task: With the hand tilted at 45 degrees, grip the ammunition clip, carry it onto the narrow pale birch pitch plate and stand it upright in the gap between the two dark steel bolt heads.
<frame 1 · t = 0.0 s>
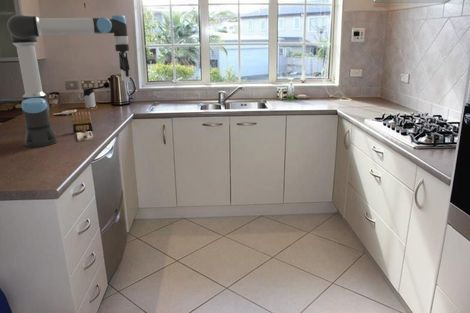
hand: (126, 81, 227), 28 cm above the worktop, tool pointing down, fingers open, 13 cm apart
pitch plate: (85, 136, 216), on the worktop
ammunition clip: (83, 132, 229), on the worktop
glass holder: (88, 107, 316), on the worktop
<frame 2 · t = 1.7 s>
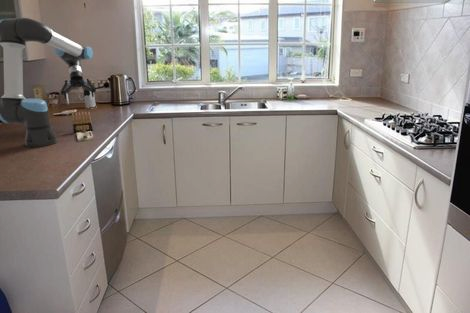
hand: (80, 101, 234), 16 cm above the worktop, tool tilted 45°, fingers open, 13 cm apart
nothing on the worktop moved.
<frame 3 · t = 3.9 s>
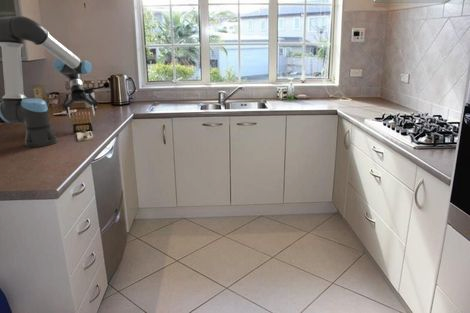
hand: (82, 116, 229), 9 cm above the worktop, tool tilted 45°, fingers open, 13 cm apart
nothing on the worktop moved.
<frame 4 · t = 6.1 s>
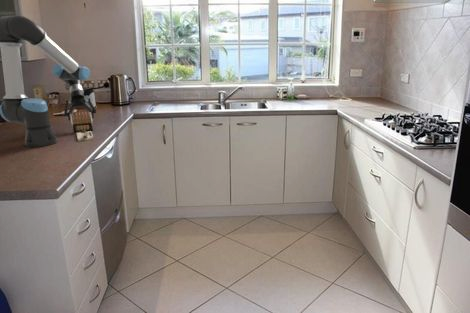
hand: (82, 123, 225), 5 cm above the worktop, tool tilted 45°, fingers closed on ammunition clip, 10 cm apart
ammunition clip: (83, 131, 229), on the worktop, touching gripper
everything else where it was.
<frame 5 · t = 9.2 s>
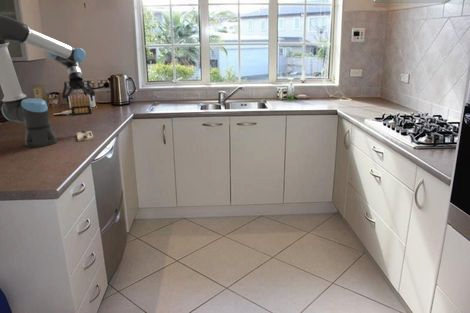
hand: (80, 106, 219), 16 cm above the worktop, tool tilted 45°, fingers closed on ammunition clip, 10 cm apart
ammunition clip: (82, 115, 223), point 11 cm above the worktop, touching gripper
everything else where it was.
when the fingers open (8 cm above the worktop, at t = 12.6 s): ammunition clip stays where it is, resting on pitch plate.
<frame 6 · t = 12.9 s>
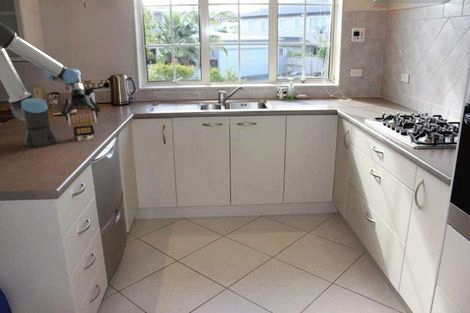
hand: (83, 123, 211), 8 cm above the worktop, tool tilted 45°, fingers open, 13 cm apart
ammunition clip: (84, 135, 215), point 1 cm above the worktop, touching pitch plate
everything else where it was.
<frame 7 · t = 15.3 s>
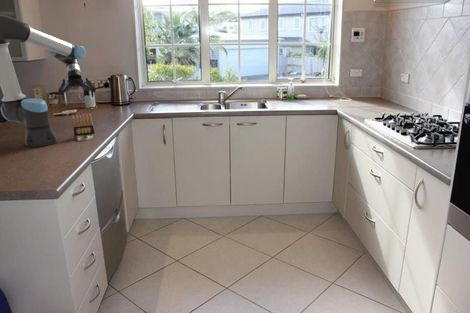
hand: (79, 102, 220), 18 cm above the worktop, tool tilted 45°, fingers open, 13 cm apart
nothing on the worktop moved.
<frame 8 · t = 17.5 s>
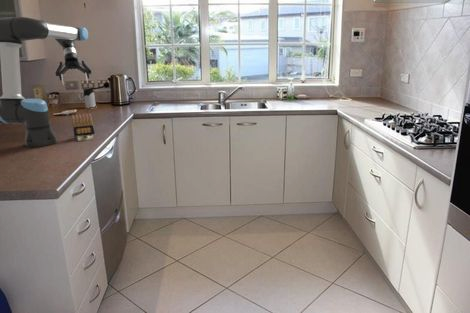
hand: (75, 83, 231), 28 cm above the worktop, tool tilted 45°, fingers open, 13 cm apart
nothing on the worktop moved.
at the end: ammunition clip 0.1 cm off-centre on the pitch plate, point 1.1 cm above the pitch plate's base; ammunition clip tilted 1°; the gripper is holding nothing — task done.
